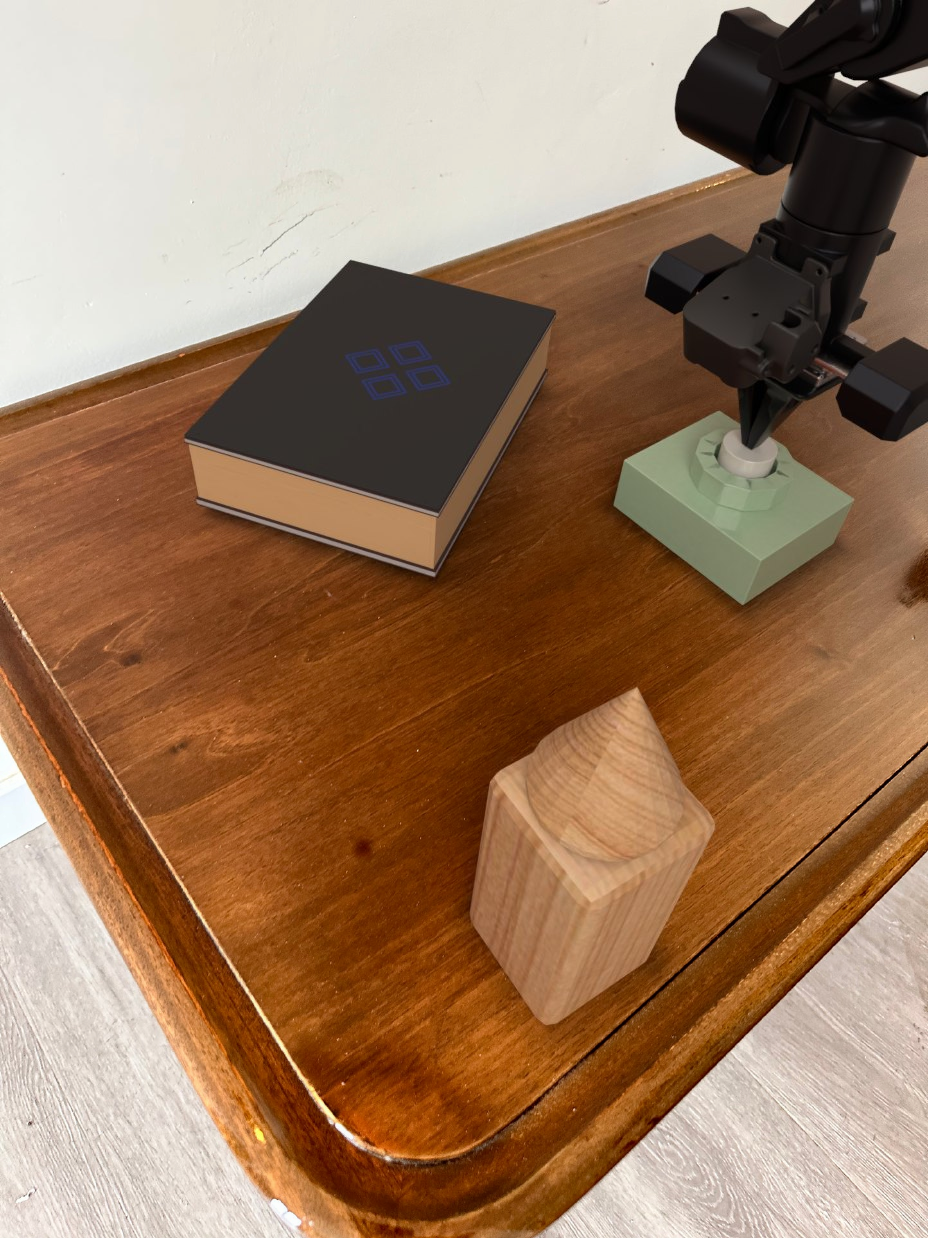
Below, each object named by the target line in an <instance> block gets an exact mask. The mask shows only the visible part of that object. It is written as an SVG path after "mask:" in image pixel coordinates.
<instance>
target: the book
mask: <svg viewBox="0 0 928 1238" xmlns="http://www.w3.org/2000/svg"><path fill="white" fill-rule="evenodd" d="M556 315H557V310H556V309H552V308H548V307H545V306H540V305H536V304H533V303H528V302H524V301H519V300H517V299H512V298H509V297H508V298H507V297H504V296H500V295H497V294H492V293H488V292H484V291H480V290H476V289H472V288H467V287H463V286H458V285H455V284H451V283H447V282H443V281H439V280H435V279H430V278H427V277H423V276H418V275H414V274H411V273H407V272H402V271H398V270H394V269H391V268H386V267H382V266H378V265H374V264H371V263H370V264H369V263H365V262H362V261H357V260H353V259H349V260H348V261H347V262H346V264H345V265H343V267H342V268H340V269H339V271H338V272H337V273H336V274H335V275H334V276H333V277H332V278H331V279H330V280H329V282H328V283H327V284H325V286H324V287H323V288H322V289H321V290H320V291H319V292H318V293H317V294H316V295H315V296H314V297H313V298H312V299H311V300H310V301H309V302H308V304H306V305H305V307H304V308H303V309H302V310H301V311H300V312H299V313H298V314H297V315H296V316H294V318H293V319H292V320H291V321H290V322H289V324H287V326H285V328H284V329H283V330H282V331H281V332H280V333H279V334H278V335H277V336H276V337H275V338H274V339H273V340H272V342H271V343H269V344H268V345H267V347H266V348H265V349H263V351H262V352H261V353H260V354H259V355H258V356H257V357H256V358H255V359H254V360H253V362H252V363H250V364H249V366H247V368H246V369H245V370H244V371H243V372H242V373H241V374H240V375H239V376H238V377H237V378H236V379H235V380H234V382H232V384H230V386H228V387H227V389H226V390H224V391H223V393H222V394H221V395H220V396H219V397H218V398H217V399H216V400H215V402H213V403H212V405H210V407H208V409H207V410H205V412H204V413H203V414H202V415H201V416H200V417H199V418H198V419H197V420H196V421H195V422H194V423H193V425H191V426H190V428H189V429H188V430H187V431H186V432H185V433H184V434H183V436H184V437H183V439H184V444H187V447H188V451H189V456H190V461H191V466H192V471H193V476H194V481H195V487H196V492H197V496H196V497H195V500H196V505H197V506H200V507H204V508H206V509H209V510H212V511H213V510H214V511H216V512H220V513H223V514H226V515H230V516H233V517H237V518H240V519H243V520H246V521H248V522H252V523H256V524H259V525H262V526H265V527H269V528H272V529H275V530H279V531H282V532H284V533H288V534H291V535H294V536H297V537H300V538H304V539H307V540H311V541H313V542H317V543H320V544H322V545H323V544H324V545H327V546H331V547H333V548H336V549H340V550H343V551H346V552H349V553H353V554H356V555H359V556H363V557H366V558H368V559H372V560H376V561H379V562H381V563H386V564H388V565H391V566H394V567H399V568H400V569H403V570H404V569H405V570H408V571H410V572H414V573H417V574H420V575H423V576H427V577H430V578H433V579H436V578H437V576H438V574H439V572H440V570H441V569H442V566H443V565H444V563H445V561H446V559H447V557H448V555H449V554H450V552H451V551H452V549H453V547H454V545H455V543H456V542H457V539H458V538H459V536H460V534H461V532H462V530H463V528H464V526H465V525H466V523H467V522H468V520H469V517H470V516H471V514H472V512H473V510H474V509H475V507H476V505H477V503H478V501H479V499H480V498H481V496H482V494H483V493H484V491H485V488H486V486H487V485H488V484H489V482H490V480H491V478H492V476H493V474H494V472H495V471H496V469H497V467H498V465H499V463H500V462H501V460H502V458H503V456H504V454H505V452H506V451H507V449H508V447H509V445H510V443H511V441H512V440H513V438H514V436H515V434H516V432H517V431H518V429H519V427H520V425H521V424H522V422H523V420H524V418H525V416H526V414H527V413H528V410H529V409H530V407H531V405H532V404H533V402H534V400H535V398H536V396H537V395H538V393H539V391H540V389H541V387H542V386H543V383H544V382H545V380H546V379H547V376H548V371H549V368H546V367H547V362H548V361H547V360H548V353H549V347H550V340H551V332H552V327H553V323H554V321H555V320H556V318H557V317H556Z"/></svg>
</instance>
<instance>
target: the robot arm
mask: <svg viewBox="0 0 928 1238" xmlns="http://www.w3.org/2000/svg"><path fill="white" fill-rule="evenodd" d="M927 67H928V0H813V1H812V2H811V3H810V4H809V5H808V6H807V7H806V9H805V10H804V11H803V12H802V13H800V15H799V16H798V17H797V18H796V19H795V20H794V21H792V23H791V24H790V25H789V26H786V25H783V24H780V23H779V22H776V21H774V20H773V19H772V18H771V17H769V16H768V15H767V14H766V13H764V12H763V11H761V10H758V9H755V8H753V7H751V6H744V7H739V8H734V9H728V10H724V11H723V12H722V13H721V14H720V16H719V21H718V26H717V30H716V34H715V35H714V36H712V38H710V39H709V40H708V42H706V43H705V44H704V45H703V46H702V47H701V49H700V50H699V52H698V53H697V54H696V55H695V56H694V58H693V60H692V61H691V63H690V64H689V67H688V68H687V71H686V73H685V75H684V77H683V79H681V80H680V81H679V83H678V85H677V90H676V94H675V101H674V120H675V123H676V127H677V129H678V130H679V132H680V133H681V135H682V136H684V137H685V138H688V139H690V141H692V142H695V143H696V144H699V145H701V146H702V147H704V148H706V149H708V150H710V151H713V152H715V153H716V154H718V155H720V156H721V157H724V158H726V159H727V160H729V161H731V162H733V163H735V164H737V165H739V166H741V167H742V168H744V169H747V171H750V172H752V173H754V174H756V175H758V176H764V177H767V176H771V175H774V174H776V173H778V172H779V171H781V170H783V169H784V168H785V167H786V166H788V165H791V167H790V170H789V174H788V177H787V180H786V183H785V186H784V190H783V192H782V196H781V199H780V203H779V206H778V209H777V211H776V216H775V217H774V218H771V219H767V220H766V221H763V222H761V223H760V224H759V228H758V231H757V232H756V233H755V234H754V235H753V237H752V241H751V244H750V247H749V249H748V251H745V250H743V249H741V248H740V247H738V246H735V245H734V244H732V243H730V242H729V241H726V240H724V239H723V238H721V237H719V236H717V235H715V234H713V233H711V232H709V233H707V234H704V235H702V236H699V237H697V238H694V239H692V240H689V241H686V242H684V243H681V244H679V245H676V246H673V247H671V248H668V249H666V250H663V251H662V252H660V253H659V254H657V255H656V257H655V258H654V259H653V260H652V261H651V263H650V265H649V266H648V270H647V275H646V279H645V285H644V288H643V296H644V298H646V299H648V300H649V301H651V302H652V303H654V304H655V305H657V306H659V307H661V308H662V309H664V310H666V311H667V312H669V313H670V314H672V315H674V316H675V315H678V314H680V313H682V338H683V339H682V345H683V346H682V347H683V349H682V353H683V357H684V358H685V359H686V360H687V361H688V362H690V363H691V364H693V365H698V366H700V367H702V368H703V369H704V370H706V371H708V372H710V373H711V374H713V375H714V376H716V377H717V378H719V380H720V381H721V382H722V383H723V384H724V385H726V386H728V387H729V388H733V389H737V390H736V391H737V399H738V400H737V401H738V412H739V424H740V427H741V440H742V444H743V445H744V446H746V447H747V448H749V449H750V450H753V449H755V448H757V447H759V446H760V445H761V444H762V443H763V442H764V441H765V440H766V439H767V438H768V437H769V436H770V437H771V436H772V435H773V433H775V431H776V430H777V429H778V428H779V427H780V426H781V425H782V424H783V423H784V422H785V421H786V420H787V419H788V418H789V417H790V416H791V415H792V414H793V412H795V411H796V410H797V409H798V408H799V406H801V404H803V402H808V401H811V400H813V399H815V398H817V397H818V396H820V395H822V394H823V393H826V392H828V391H829V390H831V389H833V388H835V387H836V386H838V385H839V387H838V390H837V393H836V395H835V400H836V404H837V406H838V410H839V412H840V414H841V417H842V418H844V419H845V420H847V421H849V422H850V423H852V424H854V425H855V426H857V427H859V428H860V429H862V430H864V431H865V432H867V433H869V434H870V435H871V436H873V437H875V438H877V439H878V440H880V441H883V442H894V443H896V442H899V441H900V440H902V439H903V438H905V437H906V436H908V435H910V434H911V433H913V432H914V431H916V430H918V429H920V428H921V427H922V426H924V425H926V424H927V423H928V349H927V348H926V347H925V346H922V345H920V344H918V343H917V342H914V341H913V340H911V339H909V338H907V337H905V336H903V337H900V338H899V339H897V340H895V341H893V342H892V343H890V344H888V345H886V346H884V347H883V348H880V349H879V350H877V351H876V350H875V349H873V348H870V347H869V346H867V344H868V341H869V340H868V338H866V337H865V336H863V335H861V334H859V333H858V332H856V331H854V330H852V329H850V328H848V327H849V325H850V324H852V323H854V322H857V321H858V320H860V319H862V318H863V315H864V313H865V311H866V309H867V306H868V303H869V302H868V301H867V300H865V299H863V298H861V295H862V293H863V290H864V289H865V286H866V283H867V282H868V281H867V280H868V279H869V276H870V273H871V272H872V268H873V266H874V263H875V261H876V258H877V257H878V256H881V255H883V254H885V253H887V252H889V251H890V250H891V249H892V246H893V243H894V241H895V238H896V236H897V232H896V231H894V230H892V229H890V228H889V226H890V224H891V221H892V218H893V216H894V213H895V211H896V208H897V206H898V203H899V201H900V199H901V196H902V193H903V191H904V188H905V187H906V184H907V182H908V179H909V176H910V174H911V171H912V168H913V167H914V164H915V162H916V159H917V157H919V158H922V159H923V158H927V157H928V90H926V91H924V92H922V93H921V94H919V93H917V92H914V91H912V90H910V89H907V88H905V87H903V86H900V85H897V84H895V83H892V82H890V81H889V80H885V79H884V78H887V77H891V76H896V75H900V74H903V73H908V72H911V71H915V70H920V69H923V68H927ZM838 73H840V74H841V76H842V77H844V78H846V79H849V80H851V81H852V82H853V81H854V82H855V81H857V82H862V83H861V84H859V85H857V86H856V85H853V84H851V83H848V82H845V81H843V80H841V79H838V78H836V74H838Z"/></svg>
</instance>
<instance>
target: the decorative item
mask: <svg viewBox="0 0 928 1238" xmlns="http://www.w3.org/2000/svg"><path fill="white" fill-rule="evenodd" d="M659 729H660V728H658V725H657V723H656V721H655V720H654V717H653V715H652V713H651V711H650V709H649V707H648V705H647V704H646V701H645V699H644V697H643V696H642V693H641V692H640V689H639V687H638V686H636V687H634V688H632V689H630V690H628V691H626V692H624V693H622V694H620V695H619V696H616V697H614V698H612V699H610V700H608V701H607V702H605V703H603V704H601V705H599V706H597V707H595V708H593V709H591V710H589V711H587V712H586V713H583V714H582V715H580V716H578V717H576V718H574V719H572V720H570V721H568V722H566V723H564V724H562V725H560V726H557V727H556V728H555V729H554V730H552V732H550V733H549V734H547V735H546V736H545V737H544V738H542V739H541V740H540V741H539V742H538V744H537V745H536V747H535V749H534V751H533V752H531V753H530V754H528V755H525V756H523V757H522V758H520V759H518V760H516V761H515V762H513V763H511V764H509V765H507V766H505V767H503V768H502V769H500V770H499V771H497V772H496V773H495V774H494V776H493V777H492V778H491V780H490V781H489V786H488V793H487V798H486V805H485V812H484V819H483V825H482V831H481V838H480V845H479V851H478V855H477V856H478V857H477V862H476V863H477V864H476V870H475V876H474V883H473V890H472V897H471V903H470V909H469V917H470V922H471V924H472V926H473V927H474V929H475V930H476V932H477V933H478V935H479V936H480V937H481V939H482V940H483V942H484V944H485V945H486V947H487V948H488V949H489V951H490V952H491V954H492V956H493V957H494V958H495V959H496V961H497V962H498V964H499V966H500V967H501V968H502V970H503V971H504V973H505V974H506V976H507V978H509V980H510V982H511V983H512V984H513V986H514V987H515V989H516V990H517V992H518V993H519V995H520V997H521V998H522V1000H523V1001H524V1002H525V1004H526V1005H527V1007H528V1008H529V1010H530V1011H531V1012H532V1014H533V1016H534V1017H535V1018H536V1019H537V1020H538V1021H540V1022H541V1023H542V1024H543V1025H544V1026H549V1025H550V1026H551V1025H556V1024H559V1023H560V1022H561V1021H562V1020H564V1019H566V1017H567V1018H568V1017H569V1015H571V1014H572V1013H574V1012H576V1011H577V1010H578V1009H580V1008H581V1007H582V1006H584V1005H585V1004H587V1003H588V1002H590V1001H591V1000H593V999H594V998H595V997H597V996H598V995H599V994H601V993H603V992H604V991H605V990H607V989H608V988H610V987H611V986H612V985H615V984H616V983H617V982H618V981H620V980H622V979H623V978H624V977H626V976H627V975H629V974H630V973H632V972H633V971H634V970H636V969H637V968H639V967H640V966H641V965H643V964H645V963H646V962H647V960H648V959H649V956H650V954H651V953H652V951H653V949H654V948H655V945H656V943H657V941H658V939H659V937H660V935H661V933H662V932H663V929H664V928H665V926H666V924H667V922H668V920H669V918H670V916H671V915H672V912H673V910H674V909H675V907H676V905H677V903H678V901H679V899H680V897H681V895H682V894H683V891H684V890H685V888H686V885H687V884H688V882H689V881H690V878H691V876H692V874H693V872H694V870H695V869H696V867H697V864H698V863H699V860H700V859H701V857H702V855H703V853H704V851H705V849H706V847H707V846H708V843H709V842H710V840H711V838H712V836H713V834H714V832H715V830H716V822H715V821H714V819H713V817H712V815H711V813H710V811H708V809H707V808H706V807H705V806H704V805H703V804H702V803H701V802H700V801H699V799H698V798H697V797H696V796H695V795H694V794H693V793H692V792H691V790H690V789H689V788H687V786H686V785H685V784H684V783H683V779H682V777H681V773H680V770H679V767H678V765H677V763H676V761H675V759H674V757H673V755H672V753H671V750H670V749H669V748H668V745H667V743H666V741H665V740H664V737H663V735H662V733H661V731H660V730H659Z"/></svg>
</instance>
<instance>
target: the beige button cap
mask: <svg viewBox="0 0 928 1238" xmlns="http://www.w3.org/2000/svg"><path fill="white" fill-rule="evenodd" d="M770 437H771V436H770ZM770 437H768V438H767V439H766V440H765V441H764V442H763V443H762V444H761V445H760V446H759V447H757V448H755V449H753V450H750V449H749V448H747V447H746V446H744V445H743V444H742V440H741V429H736V430H732V431H730V432H728V433H727V434H726V435H725V436H724V438H723V441H722V444H721V447H720V450H719V453H718V456H717V459H716V460H717V462H718V464H719V465H720V466H721V467H722V468H724V469H725V470H727V471H728V472H730V473H731V474H733V475H736V476H740V477H743V478H747V479H756V478H766V477H768V476H769V475H770V472H771V470H772V467H773V464H774V462H775V459H776V457H777V454H778V448H777V445H776V443H775V442H774V441H773V440H772V439H771V438H772V437H771V438H770Z"/></svg>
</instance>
